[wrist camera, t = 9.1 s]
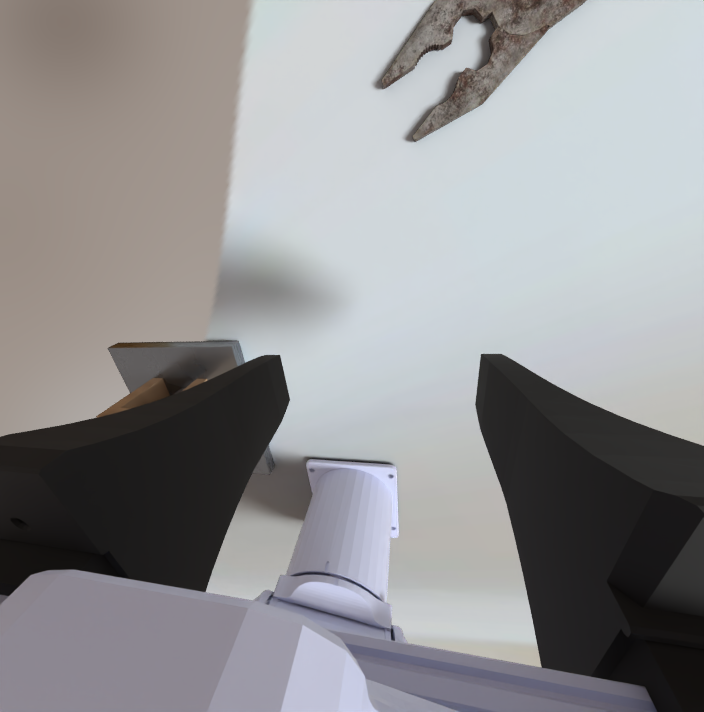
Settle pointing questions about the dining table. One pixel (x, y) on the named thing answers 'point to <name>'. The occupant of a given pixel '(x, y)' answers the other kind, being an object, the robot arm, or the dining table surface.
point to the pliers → (507, 44)
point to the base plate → (180, 368)
